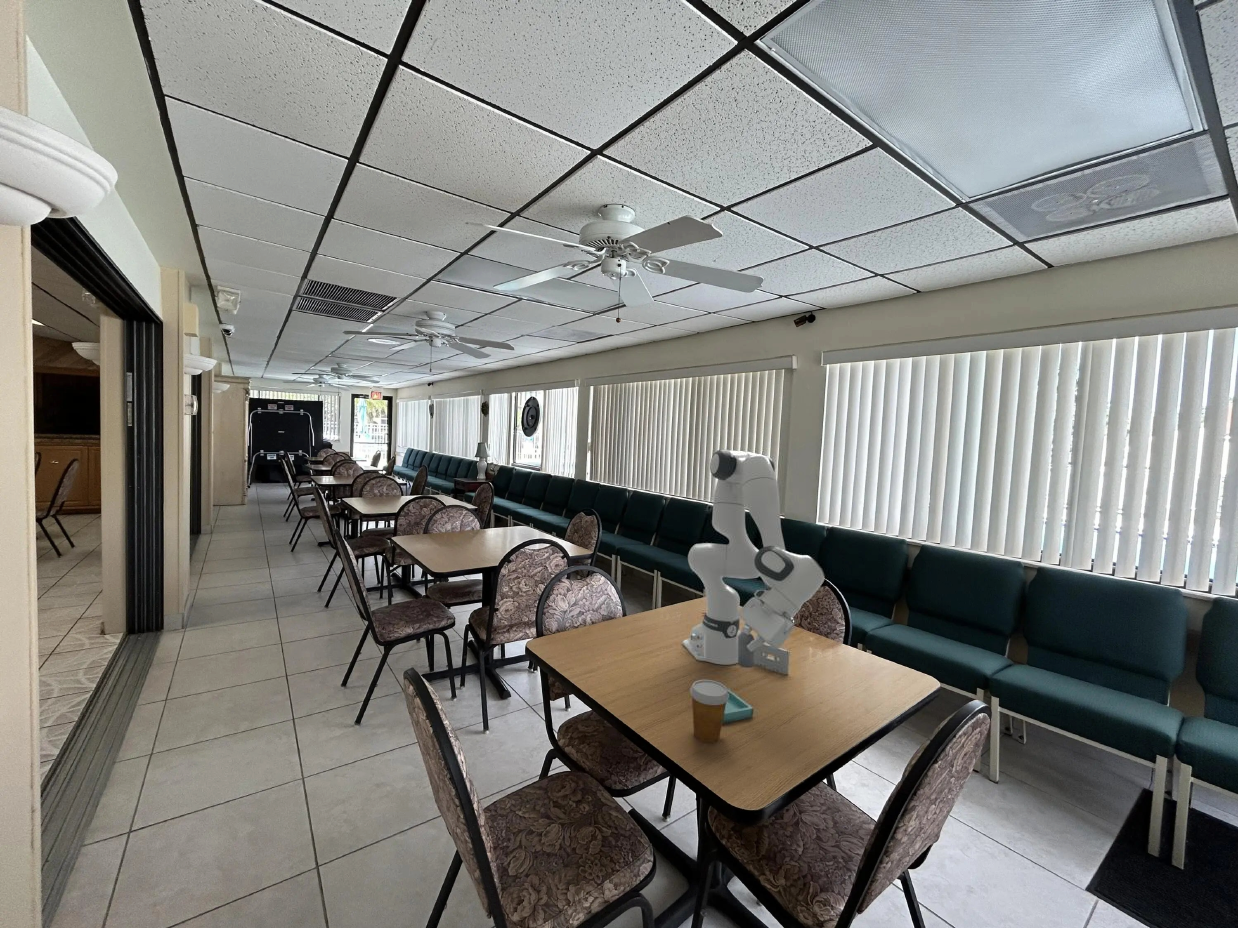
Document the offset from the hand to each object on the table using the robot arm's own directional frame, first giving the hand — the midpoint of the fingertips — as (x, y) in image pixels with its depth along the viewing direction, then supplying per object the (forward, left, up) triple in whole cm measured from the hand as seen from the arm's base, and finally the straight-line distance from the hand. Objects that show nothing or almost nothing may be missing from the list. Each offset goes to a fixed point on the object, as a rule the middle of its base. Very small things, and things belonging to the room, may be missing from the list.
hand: (743, 644), depth 135 cm
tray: (-3, -3, -19) cm, 19 cm away
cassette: (-20, +28, -19) cm, 40 cm away
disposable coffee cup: (+6, -15, -19) cm, 25 cm away
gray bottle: (0, +1, -5) cm, 6 cm away
